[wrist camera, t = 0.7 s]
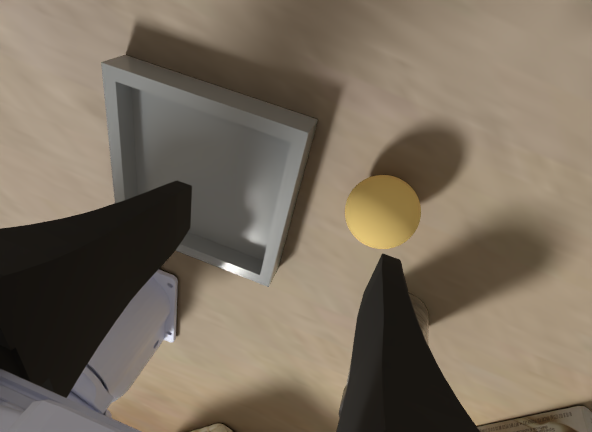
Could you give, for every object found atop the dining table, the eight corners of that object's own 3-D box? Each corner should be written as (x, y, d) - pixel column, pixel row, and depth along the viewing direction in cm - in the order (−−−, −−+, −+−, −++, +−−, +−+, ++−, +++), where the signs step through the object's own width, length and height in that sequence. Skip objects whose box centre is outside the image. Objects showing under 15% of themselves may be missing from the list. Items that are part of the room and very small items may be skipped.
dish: (278, 268, 28) (268, 286, 27) (134, 213, 29) (117, 227, 28) (317, 119, 21) (308, 132, 19) (124, 54, 22) (101, 62, 21)
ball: (405, 231, 23) (401, 274, 20) (343, 208, 24) (329, 247, 20) (433, 176, 21) (433, 216, 18) (364, 152, 21) (351, 187, 18)
